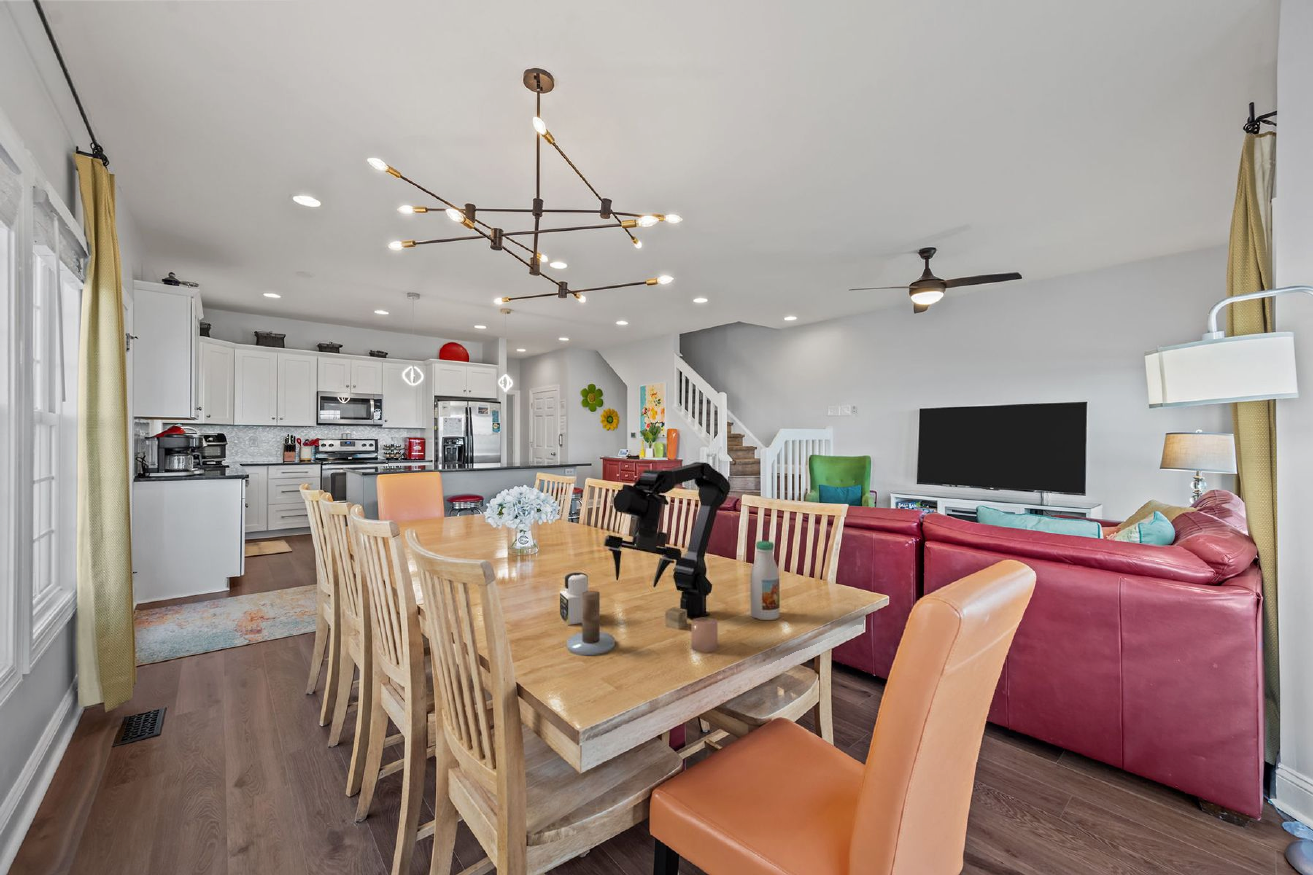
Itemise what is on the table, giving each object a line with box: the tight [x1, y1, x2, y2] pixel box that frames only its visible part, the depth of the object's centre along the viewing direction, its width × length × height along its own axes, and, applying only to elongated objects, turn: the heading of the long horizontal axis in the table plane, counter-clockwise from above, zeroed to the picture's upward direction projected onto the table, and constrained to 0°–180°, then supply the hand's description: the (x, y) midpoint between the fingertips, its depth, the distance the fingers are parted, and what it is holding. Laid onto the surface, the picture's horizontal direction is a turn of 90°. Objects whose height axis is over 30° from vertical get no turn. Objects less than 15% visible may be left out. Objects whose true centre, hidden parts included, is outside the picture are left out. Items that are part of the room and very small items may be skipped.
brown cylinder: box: [581, 590, 601, 644], centre depth 122 cm, size 4×4×11 cm
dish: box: [566, 631, 616, 656], centre depth 122 cm, size 11×11×1 cm
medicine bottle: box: [559, 572, 589, 626], centre depth 140 cm, size 7×7×12 cm
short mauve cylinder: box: [691, 616, 719, 654], centre depth 121 cm, size 6×6×6 cm
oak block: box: [664, 606, 688, 630], centre depth 135 cm, size 4×4×4 cm
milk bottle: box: [749, 540, 781, 621], centre depth 142 cm, size 8×8×20 cm
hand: (635, 583), depth 127 cm, fingers open, 9 cm apart
